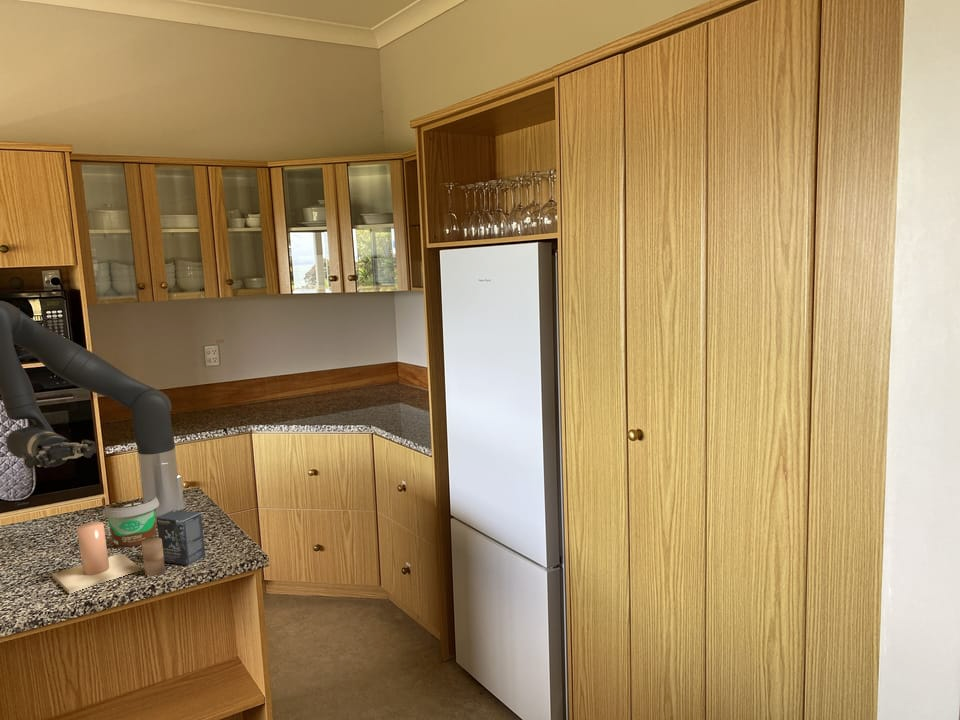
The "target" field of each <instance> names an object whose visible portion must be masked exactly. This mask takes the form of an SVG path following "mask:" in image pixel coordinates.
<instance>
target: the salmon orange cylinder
mask: <svg viewBox="0 0 960 720" xmlns="http://www.w3.org/2000/svg"><path fill="white" fill-rule="evenodd" d="M76 530H77V537H78V538H77V539H78V544H79V551H80V559H81V565H82V567H83V573H84V574H85V575H95V574H99V573H102V572H105V571H107V570H108V569H109V560H108V557H109V554H108V548H107V547H108V546H107V539H106V532H105V524H104V522H102V521H92V522H87V523H83V524H81V525H79V526H78V527H77V528H76Z"/></svg>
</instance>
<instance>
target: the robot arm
mask: <svg viewBox="0 0 960 720" xmlns="http://www.w3.org/2000/svg"><path fill="white" fill-rule="evenodd" d="M15 345H16V346H18V347H20V348H22V349H24V350H25V351H27V352H29V353H30V354H31V355H32V356H34V358H35V359H37V360H38V361H39V362H40V363H41V364H43V366H45V367H46V368H47V369H48V370H49V371H51V372H52V373H54V374H55V375H57V376H58V377H60V378H61V379H63V380H65V381H66V382H69V384H70V383H71V384H72V385H74V386H76V387H79V388H80V389H83V390H86V391H89V392H91V393H95V394H98V395H101V396H104V397H107V398H110V399H112V400H113V401H115V402H117V403H119V404H120V405H122V406H124V407H125V408H126V409H128V410H129V411H131V420H132V428H133V435H134V442H135V445H136V450H137V459H138V466H139V467H138V468H139V475H140V483H141V492H142V502H145V501H150V500H154V499H155V497H156V498H157V499H158V502H159V506H158V507H157V508H156V518H157V517H159V516H161V515H163V514H165V513H168V512H170V511H172V510H174V509H175V510H180V511H183V510H185V502H184V492H183V482H182V481H183V480H182V476H181V475H180V474H178V472H179V470H178V462H177V453H176V443H175V437H174V433H173V425H172V418H171V411H172V402H171V400H170V398H169V396H168V395H167V394H166V393H165V392H163V391H161V390H159V389H157V388H155V387H152V386H150V385H148V384H145V383H143V382H141V381H139V380H137V379H135V378H133V377H131V376H129V375H128V374H126V373H125V372H123V371H122V370H120V369H119V368H117V367H116V366H114V364H113V365H112V364H111V363H110V362H108V361H107V360H105V359H103V358H102V357H100V356H98V355H97V354H96V353H93V352H92V351H90V350H89V349H87V348H85V347H83V346H81V345H80V344H78V343H76V342H74V341H72V340H70V339H68V338H67V337H64V336H62V335H60V334H59V333H57V332H54V331H52V330H50V329H48V328H47V327H44V326H43V325H41V324H40V323H38V322H37V321H36V320H34V319H33V318H31V316H29V315H27V314H26V313H25V312H23V311H22V310H21V309H19V308H18V307H16V306H15V305H13V304H11V303H10V302H7V301H4V300H0V396H1V400H2V404H3V407H4V409H5V413H6V417H7V418H8V419H9V420H12V421H21V420H30V421H31V422H33V424H32V425H28V426H26V427H21V428H19V429H15V430H13V431H11V432H10V433H9V434H8V436H7V437H6V447H7V448H6V449H8V452H9V453H10V454H12V456H13V457H16V458H18V459H22V465H23V466H24V467H25V468H26V469H32V468H34V466H36V467H39V468H41V467H43V468H45V469H46V468H51V467H57V466H60V465H63V464H64V463H66V462H67V461H68V459H78V458H81V457H82V456H83V457H84V458H87V459H91V457H92V456H94V454H96V453H98V452H97V451H98V450H97V447H96V442H95V441H93V440H89V439H82V440H81V443H79V442H70V440H69V439H68V438H66V437H64V436H63V435H61V434H58V433H56V432H55V431H54V429H53V428H52V426H51V424H49V422H48V421H47V419H46V418H45V416H44V415H43V413H42V411H41V409H40V407H39V404H38V401H37V397H36V395H35V391H34V388H33V385H32V382H31V379H30V378H29V375H28V374H27V372H26V369H24V367H23V365H22V363H21V361H20V359H19V357H18V354H17V351H16V348H15Z"/></svg>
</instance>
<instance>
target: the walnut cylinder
mask: <svg viewBox="0 0 960 720" xmlns="http://www.w3.org/2000/svg"><path fill="white" fill-rule="evenodd" d="M141 544H142V545H141V551H142V559H143V560H142V561H143V566H144V575H145V576H146V575H149V576H148V577H156V576H159V575H162V574H164V573H165V572H166V565H165V563H166V562H164V554H163V546H162V539H161V538H159V537H156V538H151V539H147V540H145V541H143V542H142V543H141ZM155 575H156V576H155Z"/></svg>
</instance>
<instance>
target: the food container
mask: <svg viewBox="0 0 960 720" xmlns="http://www.w3.org/2000/svg"><path fill="white" fill-rule="evenodd" d="M158 506H159V502H158V499H157V498H156V497H155V499H154V500H150V501H145V502H143V501H139V502H138V501H135V502H129V503H126V504H123V505H119V506H115V507H107V506H106V505H104V508H103V511H102V512H103V513H102V514H103V516H104V517H106V518H107V523H108V526H109V530H110V533H111V537H112V541H113V546H114V547H116V546H117V547H116V548H119V547H131V548H134V547H133V546H137V547H139V546H138V545H141V546H142V544H141V543H142V542H143V541H145V540H147V539H151V538H157V517H156V508H157V507H158Z"/></svg>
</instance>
